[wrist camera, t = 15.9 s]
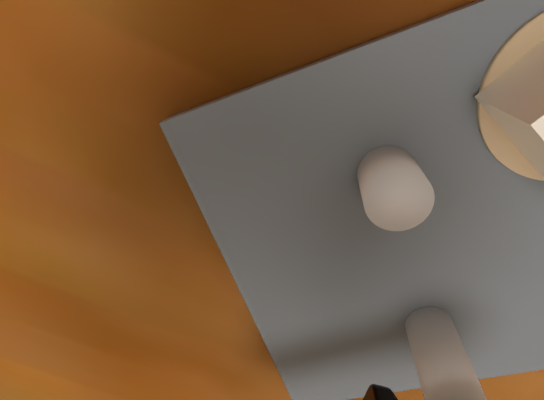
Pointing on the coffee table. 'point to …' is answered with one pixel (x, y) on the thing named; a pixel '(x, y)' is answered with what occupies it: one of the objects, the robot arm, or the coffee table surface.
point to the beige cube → (520, 105)
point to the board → (327, 227)
